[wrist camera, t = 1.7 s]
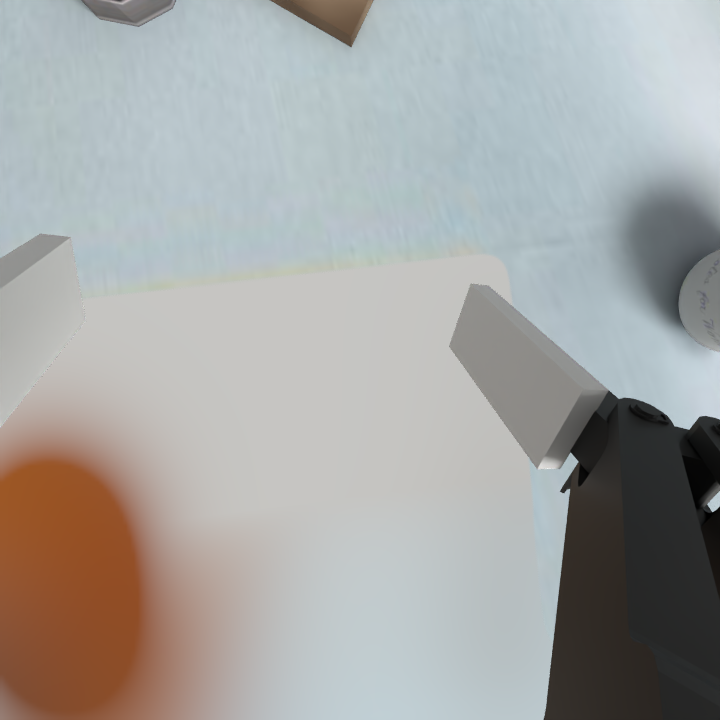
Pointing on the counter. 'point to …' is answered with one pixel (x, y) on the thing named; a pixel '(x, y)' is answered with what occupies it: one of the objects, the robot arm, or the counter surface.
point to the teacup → (702, 302)
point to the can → (129, 10)
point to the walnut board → (331, 15)
